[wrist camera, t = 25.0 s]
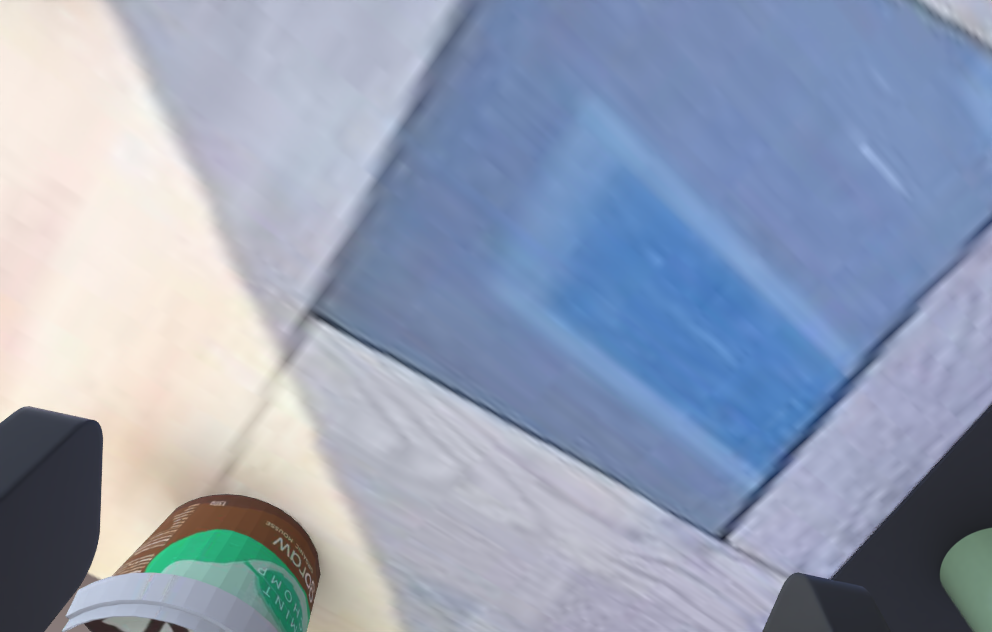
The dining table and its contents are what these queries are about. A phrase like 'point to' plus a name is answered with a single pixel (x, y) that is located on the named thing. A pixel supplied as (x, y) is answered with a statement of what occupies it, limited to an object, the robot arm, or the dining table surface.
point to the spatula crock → (970, 579)
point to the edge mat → (928, 538)
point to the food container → (209, 574)
